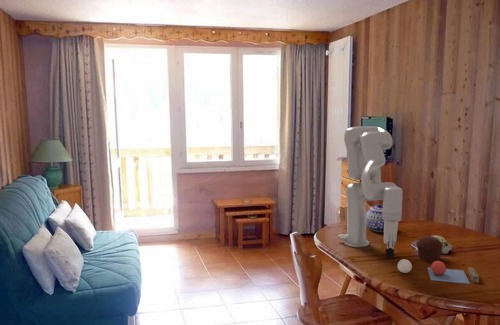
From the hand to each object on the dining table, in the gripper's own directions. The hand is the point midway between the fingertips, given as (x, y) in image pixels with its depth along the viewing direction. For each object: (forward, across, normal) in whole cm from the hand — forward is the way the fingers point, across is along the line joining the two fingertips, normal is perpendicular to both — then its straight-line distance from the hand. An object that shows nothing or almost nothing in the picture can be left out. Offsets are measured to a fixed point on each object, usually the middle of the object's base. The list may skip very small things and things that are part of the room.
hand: (389, 257), depth 177 cm
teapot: (+9, -62, -4) cm, 62 cm away
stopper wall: (+5, +1, +32) cm, 33 cm away
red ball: (+2, +1, +19) cm, 19 cm away
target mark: (+5, +1, +23) cm, 23 cm away
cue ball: (+2, +2, +6) cm, 7 cm away
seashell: (+7, -31, +22) cm, 39 cm away
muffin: (+6, -18, +18) cm, 26 cm away
